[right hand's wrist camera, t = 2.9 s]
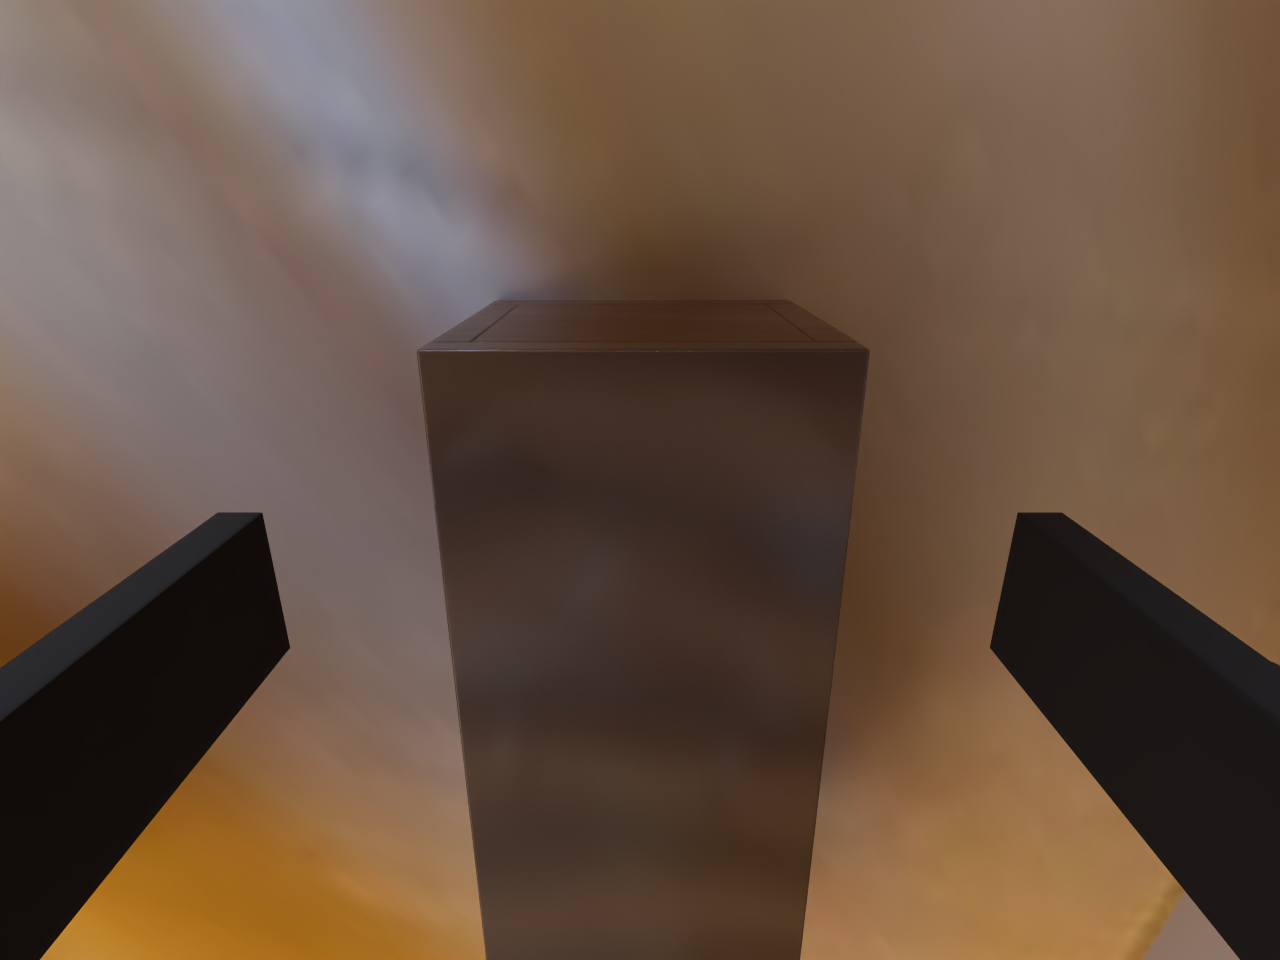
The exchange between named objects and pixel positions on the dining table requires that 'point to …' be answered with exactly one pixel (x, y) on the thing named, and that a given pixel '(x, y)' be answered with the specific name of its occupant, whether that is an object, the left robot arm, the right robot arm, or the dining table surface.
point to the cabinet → (643, 614)
